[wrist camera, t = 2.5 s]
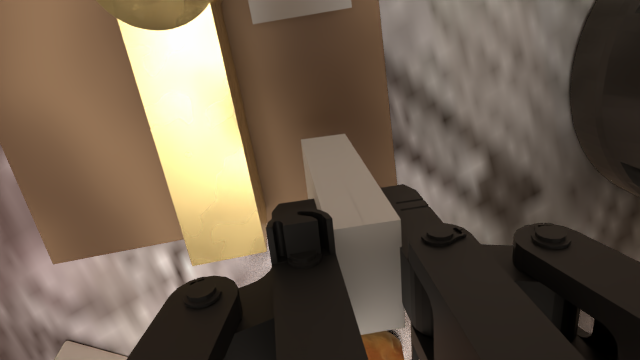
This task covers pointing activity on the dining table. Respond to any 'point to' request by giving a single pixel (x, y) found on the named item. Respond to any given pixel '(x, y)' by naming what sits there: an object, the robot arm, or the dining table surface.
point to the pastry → (382, 346)
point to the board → (133, 127)
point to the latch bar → (196, 122)
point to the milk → (85, 353)
